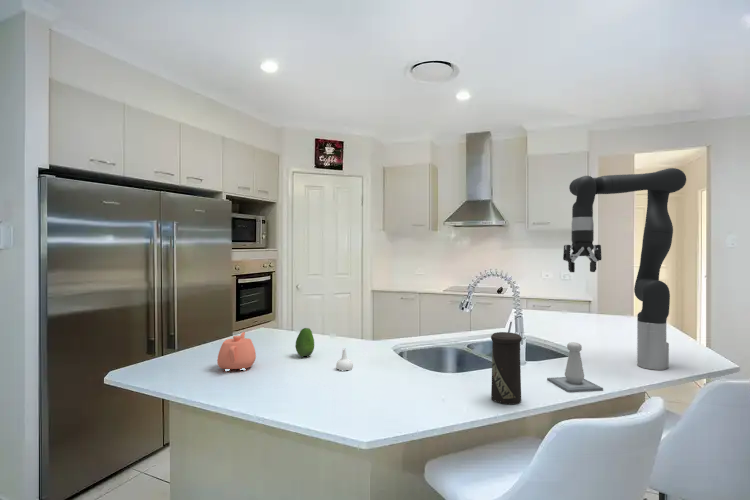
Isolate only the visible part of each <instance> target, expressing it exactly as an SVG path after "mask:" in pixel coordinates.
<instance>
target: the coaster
mask: <svg viewBox="0 0 750 500" xmlns="http://www.w3.org/2000/svg"><path fill="white" fill-rule="evenodd" d="M546 381H547V382H549V383H551V384H553V385H555V386H557V387H558V388H560V389H561V390H563V391H564V392H567V393H581V392H600V391H604V388H603V387H602V386H600V385H598V384H596V383H593V382H592V381H590V380H588V379H586V378H584V379H583V381H582V383H581V384H572V383H568V381H567V379H566V377H565V376H561V377H558V376H557V377H547V378H546Z"/></svg>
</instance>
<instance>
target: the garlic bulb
mask: <svg viewBox="0 0 750 500" xmlns="http://www.w3.org/2000/svg"><path fill="white" fill-rule="evenodd" d="M352 361H353V360H351V359H349V358H348V355H347V349H346V348H342V353H341V358H340V359H339V360H338V361H337V362H336V364H335V367H336V368H335V369H336V370H337V369H339V370H349V371H351V370H352V369H353V368H354V367H353V366H354V363H353V362H352ZM350 369H351V370H350ZM339 370H338V371H339Z"/></svg>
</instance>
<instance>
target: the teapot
mask: <svg viewBox="0 0 750 500" xmlns="http://www.w3.org/2000/svg"><path fill="white" fill-rule="evenodd" d="M245 334H246V332H245V331H243V332H241V333H240V335H234V336H232V338H228V339H225V340H224V341H223V342H222V343H221V346H220V348H219V351H218V354H217V360H216V361H217V366H218V367H219V368H220V369H223V370H225V369H231V370H240V369H242V368H246V369H247V368H248V369H249V368H251V367H252V366H253V365H254V363H255V361H256V358H257V356H256V355H257V354H256V348H255V346H254V343H253V341H252V339H251V338H246V335H245Z"/></svg>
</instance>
